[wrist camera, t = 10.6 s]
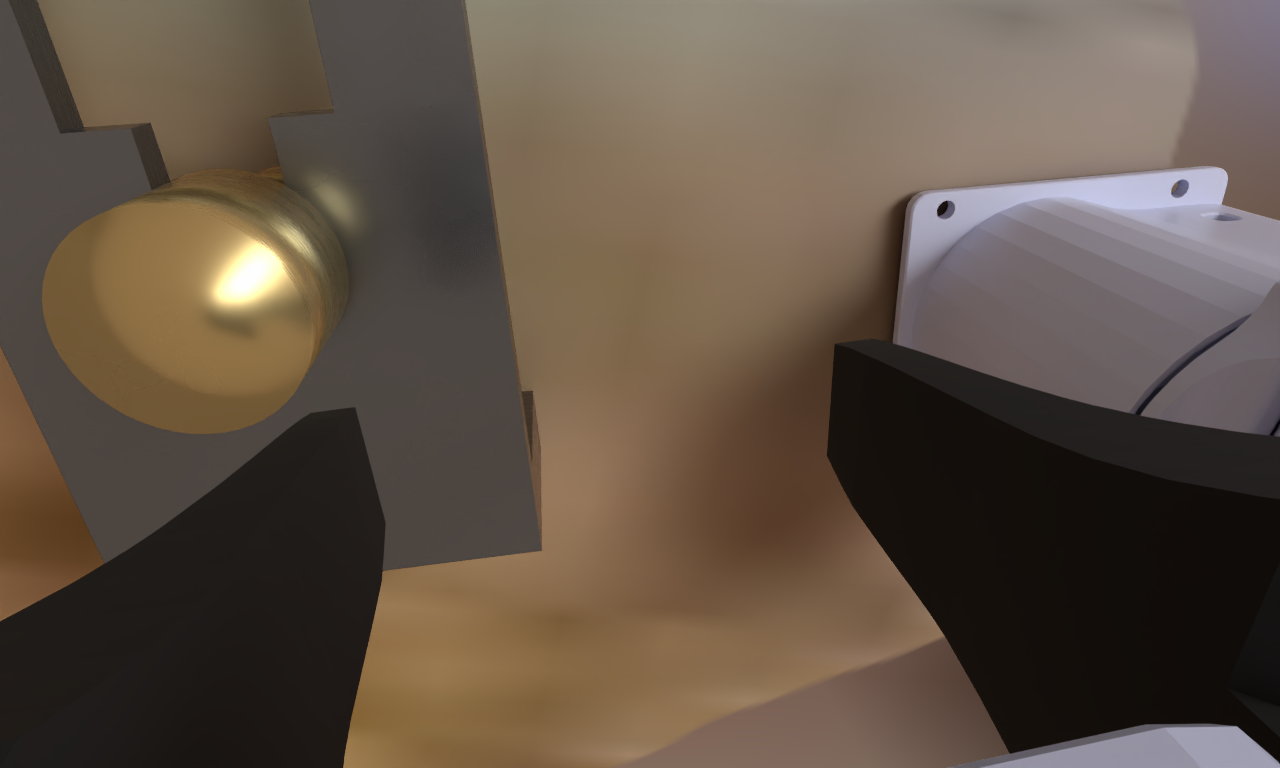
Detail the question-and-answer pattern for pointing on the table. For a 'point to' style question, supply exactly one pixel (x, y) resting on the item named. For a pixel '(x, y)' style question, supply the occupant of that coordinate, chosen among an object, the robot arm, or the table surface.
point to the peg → (198, 300)
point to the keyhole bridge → (377, 304)
